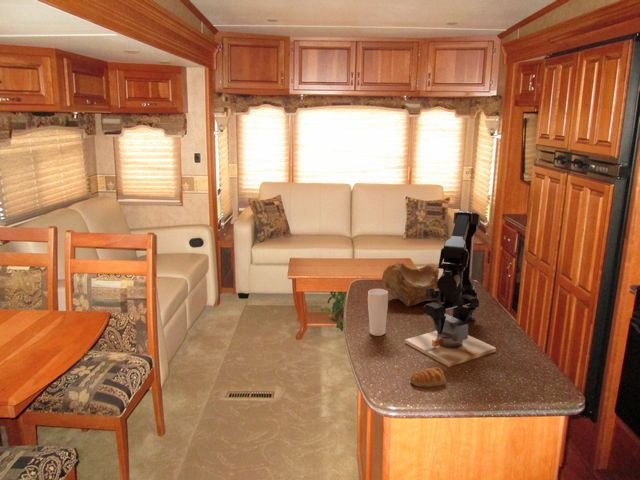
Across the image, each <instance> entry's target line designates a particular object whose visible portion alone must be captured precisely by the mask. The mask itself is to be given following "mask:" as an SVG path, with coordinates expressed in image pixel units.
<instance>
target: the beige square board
mask: <svg viewBox="0 0 640 480" xmlns="http://www.w3.org/2000/svg"><path fill="white" fill-rule="evenodd" d="M436 338H437V331H436V330H434V331H430V332H427V333H423V334H420V335H417V336H412V337H408V338H406V339H404V344H406V345H408V346H409V347H412V348H414V349H416V350H417V351H419V352H421V353H423V354H425V355H426V356H428V357H430V358H431V359H434V360H435V361H437V362H439V363H441V364H443V365H445V366H446V367H447V368H450V367H453V366H456V365H459V364H462V363H466V362H468V361H471V360H474V359H477V358H480V357H483V356H486V355H490V354H492V353H495V352H496V351H497V348H496V347H495V346H493V345H491V344H489V343H487V342H484V341H482V340H480V339H478V338H475V337H474V336H472V335H469V334H468V339H465V340H463V345H462V346H461V347H458V348H446V347H443V346H440V345H439V346H436V347H434V346H432V340H433V339H436Z"/></svg>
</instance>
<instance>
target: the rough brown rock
mask: <svg viewBox="0 0 640 480" xmlns="http://www.w3.org/2000/svg"><path fill="white" fill-rule="evenodd" d="M438 266H439V265H436V264H434V263H427V264H426V265H424V266H422V267H420V268H413V267H412V268H411V267H408V266H406V265H405V264H404V263H403V262H399V261H398V262H395V263H393V264H389V266H386V268H385V270H383V273H382V278H381V281H382V282H381V283H382V286H383V287H384V288H385V289H387V290H389V291H388V292H389V293H390V297H391V298H393V299H394V300H399V301H400V302H402V304H403V305H405V306H406V307H412V306H416V305H418V304H420V303H422V302H432V301H431V299H427V298H426V289H430V288H433V289H434V290H436V289H438V286H437V282H438V280H439V272H440V269H439V268H438Z"/></svg>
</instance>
